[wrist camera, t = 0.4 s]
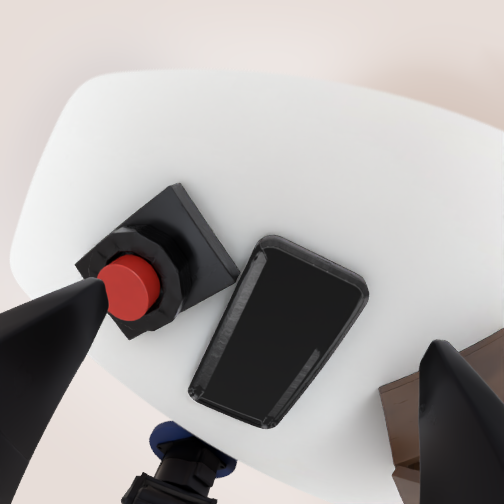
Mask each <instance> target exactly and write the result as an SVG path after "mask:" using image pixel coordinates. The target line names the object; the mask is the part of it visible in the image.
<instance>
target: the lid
mask: <svg viewBox="0 0 504 504" xmlns="http://www.w3.org/2000/svg"><path fill="white" fill-rule="evenodd" d="M392 477H393V479H394V482H395V484H396V487H397V489H398V491H399V494H400V496H401V498H402V501H403V503H404V504H419V498H420V471H417V470H413V469H409V468H406V467H402V466H397V468H396V469H395V471H394V472H393V474H392Z"/></svg>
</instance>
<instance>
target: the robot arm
mask: <svg viewBox="0 0 504 504" xmlns="http://www.w3.org/2000/svg"><path fill="white" fill-rule="evenodd" d="M108 308H109V301H108V297H107V292H106V288H105V284H104V282H103V281H102V280H101V279H97V278H93V277H89V278H87V279H84V280H82V281H79V282H77V283H74V284H71V285H69V286H66V287H64V288H61V289H59V290H56V291H54V292H51V293H49V294H46V295H44V296H42V297H39V298H37V299H34V300H32V301H29V302H27V303H24V304H22V305H20V306H17V307H15V308H12V309H10V310H8V311H5V312H3V313H0V504H11V502H12V500H13V497H14V495H15V493H16V490H17V488H18V486H19V483H20V481H21V479H22V477H23V475H24V473H25V470H26V468H27V466H28V464H29V461H30V459H31V457H32V455H33V453H34V451H35V449H36V447H37V445H38V443H39V441H40V439H41V437H42V435H43V433H44V431H45V429H46V427H47V425H48V423H49V421H50V419H51V417H52V415H53V414H54V412H55V410H56V408H57V406H58V404H59V402H60V401H61V399H62V397H63V395H64V393H65V391H66V390H67V388H68V386H69V384H70V383H71V381H72V379H73V377H74V375H75V374H76V372H77V370H78V368H79V367H80V365H81V363H82V362H83V360H84V358H85V356H86V355H87V353H88V351H89V349H90V347H91V345H92V343H93V341H94V339H95V336H96V334H97V332H98V330H99V328H100V326H101V324H102V322H103V320H104V318H105V316H106V314H107V311H108ZM418 427H419V450H420V498H419V504H504V403H503V402H502V401H501V400H500V398H499V397H498V396H497V395H496V394H495V393H494V391H493V390H492V389H491V388H490V387H489V386H488V385H487V383H486V382H485V381H484V380H483V379H482V378H481V377H480V376H479V374H478V373H477V372H476V371H475V370H474V369H473V368H472V367H471V366H470V365H469V363H468V362H467V361H466V360H465V359H464V358H463V357H462V356H461V355H460V354H459V353H458V352H457V351H456V349H455V348H454V347H453V346H452V345H451V344H450V343H449V342H448V341H445V340H433V341H432V342H431V344H430V345H429V347H428V349H427V351H426V353H425V355H424V357H423V358H422V360H421V363H420V366H419V407H418ZM156 448H157V449H158V450H160V451H161V452H162V453H163V454H164V456H163V458H162V460H161V463H160V465H159V467H158V469H157V472H156V474H155V476H154V477H152V476H149V475H147V474H146V473H144V472H143V473H142V475H141V476H136V477H135V479H134V481H133V483H132V485H131V487H130V488H129V489H128V491H127V492H126V493H125V495H124V496H123V497H122V499H121V503H122V504H217V499H214V498H213V499H211V498H208V497H207V496H208V493H209V489H210V487H212V486H213V483H214V480H215V476H216V473H217V470H223V469H226V467H227V465H226V464H225V463H224V462H223V461H222V460H221V459H220V458H218V457H217V456H216V455H215V454H214V453H213V452H212V451H211V450H210V449H208V448H207V447H206V446H205V445H204V444H203V443H202V442H201V441H200V440H199V439H198V438H196V437H194V436H190V437H186V438H181V439H177V440H172V441H167V442H162V443H158V444H157V446H156Z"/></svg>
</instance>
